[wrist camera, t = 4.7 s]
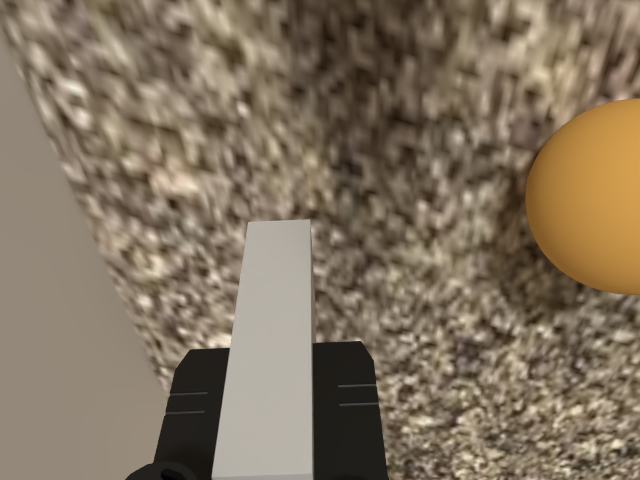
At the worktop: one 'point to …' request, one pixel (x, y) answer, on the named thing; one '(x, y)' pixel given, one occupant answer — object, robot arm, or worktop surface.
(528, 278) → the worktop surface
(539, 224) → the ball
